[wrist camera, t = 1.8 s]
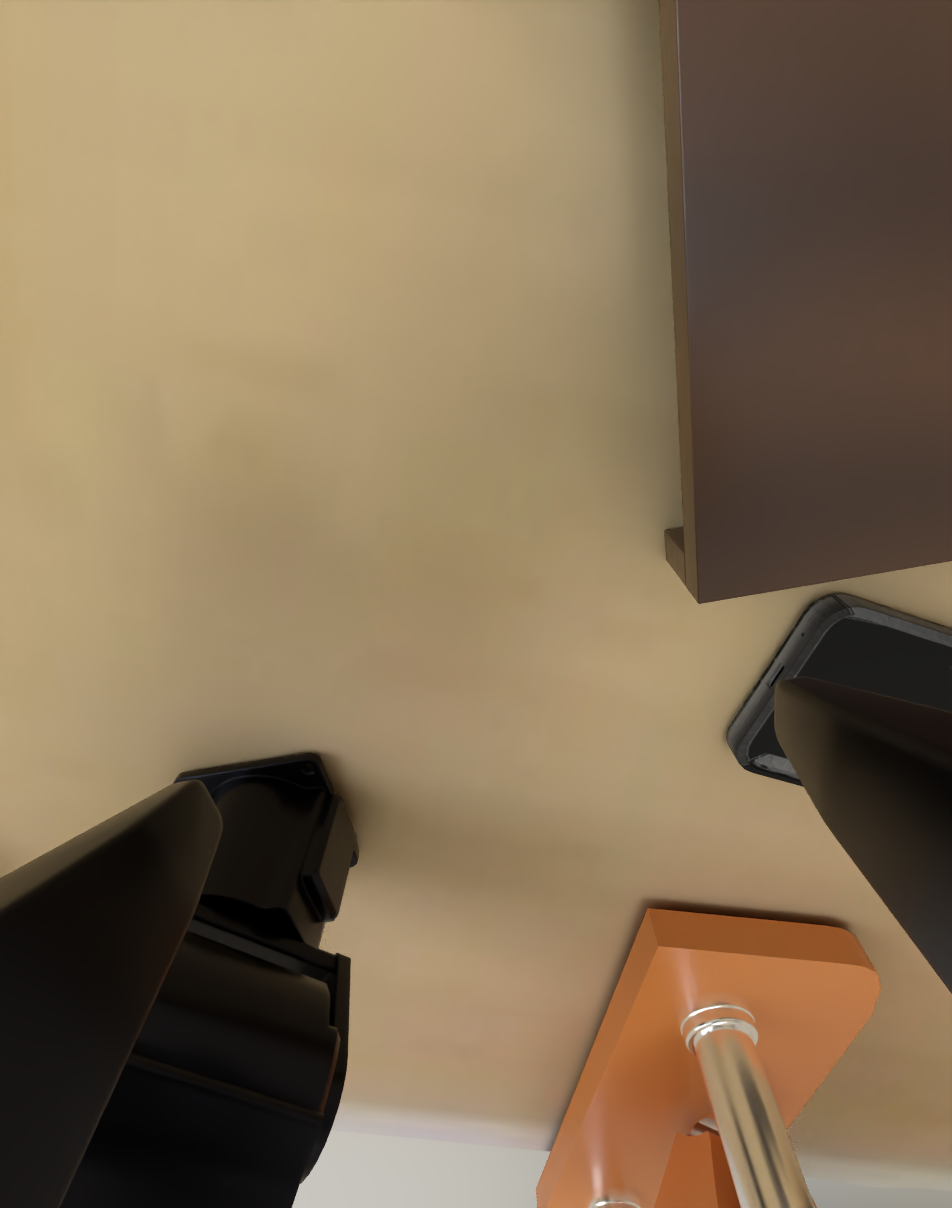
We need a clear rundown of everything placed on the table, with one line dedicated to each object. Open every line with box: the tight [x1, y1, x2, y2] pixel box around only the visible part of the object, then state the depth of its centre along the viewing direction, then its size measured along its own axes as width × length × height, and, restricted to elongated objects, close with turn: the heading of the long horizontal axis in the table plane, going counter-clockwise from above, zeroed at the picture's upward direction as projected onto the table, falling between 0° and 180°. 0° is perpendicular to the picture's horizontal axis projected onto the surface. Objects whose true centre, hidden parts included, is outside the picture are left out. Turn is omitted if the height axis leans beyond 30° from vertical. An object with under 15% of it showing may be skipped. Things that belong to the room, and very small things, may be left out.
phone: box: [727, 594, 952, 787], centre depth 23 cm, size 8×1×15 cm
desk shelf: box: [659, 0, 952, 604], centre depth 15 cm, size 18×12×4 cm, turn 11°
